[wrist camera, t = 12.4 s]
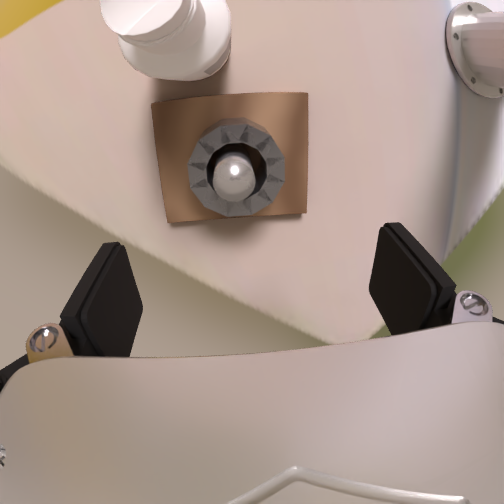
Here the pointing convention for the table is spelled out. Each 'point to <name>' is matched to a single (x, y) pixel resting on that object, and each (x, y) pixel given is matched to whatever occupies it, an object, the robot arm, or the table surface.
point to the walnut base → (205, 115)
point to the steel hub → (266, 175)
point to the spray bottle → (171, 36)
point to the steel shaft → (233, 173)
